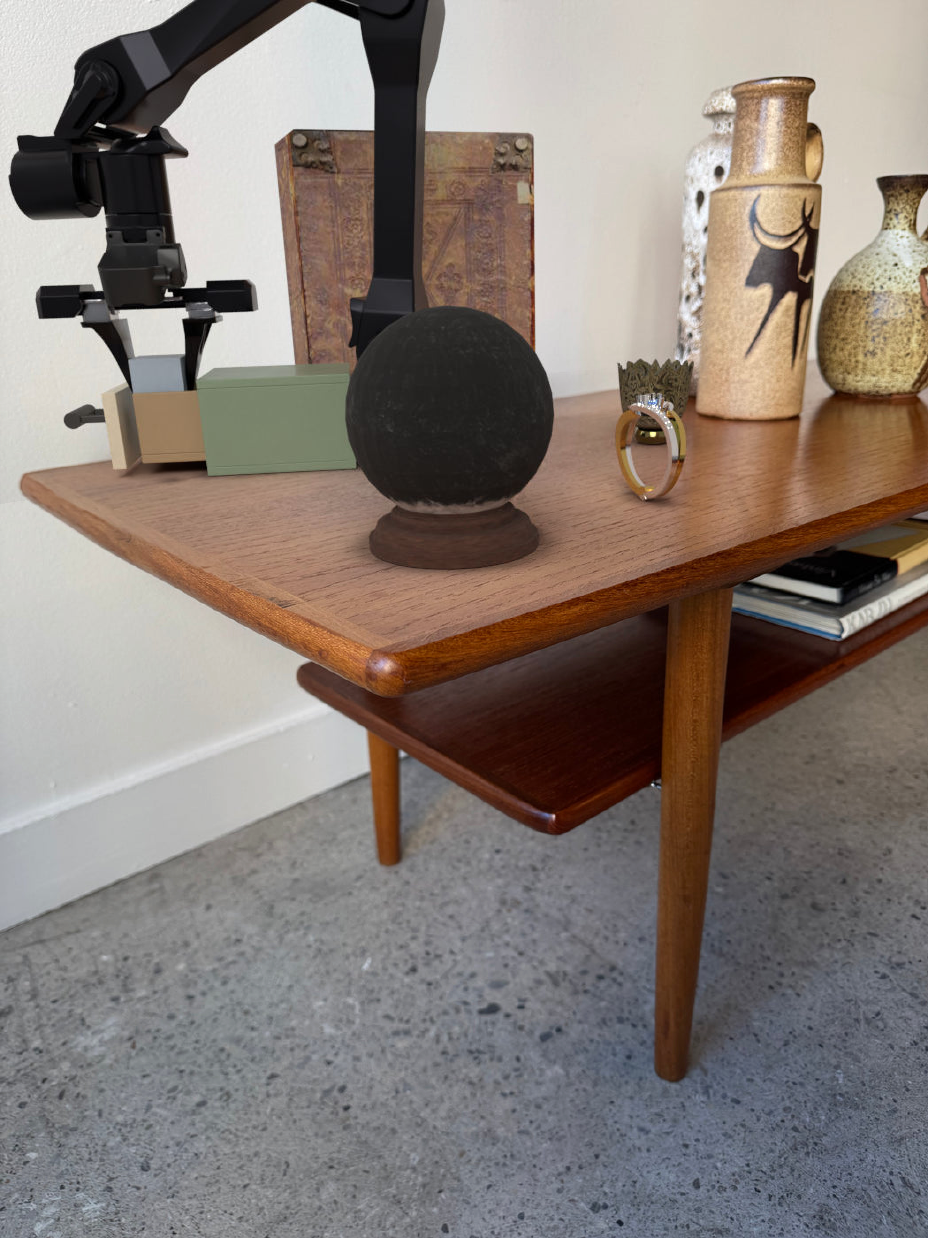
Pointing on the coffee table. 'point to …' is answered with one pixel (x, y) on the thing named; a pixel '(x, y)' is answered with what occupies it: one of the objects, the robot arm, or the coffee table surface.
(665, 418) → the ring
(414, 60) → the robot arm
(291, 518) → the coffee table surface
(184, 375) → the block
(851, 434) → the coffee table surface
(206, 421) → the cabinet
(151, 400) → the drawer
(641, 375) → the cup
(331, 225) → the book
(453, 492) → the black ball on stand
